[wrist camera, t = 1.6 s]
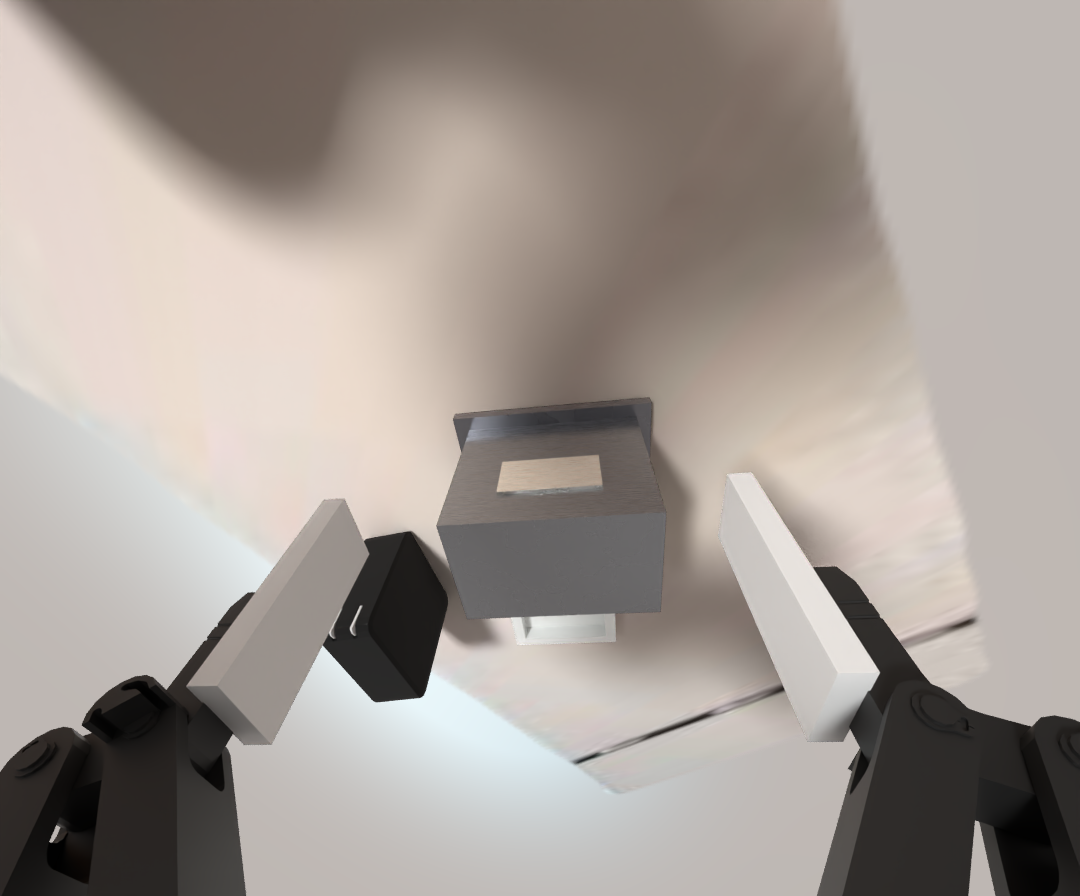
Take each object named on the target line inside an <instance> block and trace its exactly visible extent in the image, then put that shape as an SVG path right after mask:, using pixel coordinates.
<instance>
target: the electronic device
mask: <svg viewBox="0 0 1080 896" xmlns="http://www.w3.org/2000/svg"><path fill="white" fill-rule="evenodd" d="M364 543H365V545H366V547H367V550H368V552H369V556H368V558H367V559H366V561H365V563H364V565H363V567H362V569H361V571H360V573H359V575H358V577H357V579H356V581H355V583H354V585H353V587H352V589H351V591H350V593H349V595H348V597H347V599H346V600H345V602H344V604H343V606H342V608H341V610H340V612H339V614H338V616H337V618H336V620H335V622H334V624H333V626H332V628H331V630H330V632H329V634H328V636H327V638H326V639H325V641H324V643H323V646H324V647H325V648H326V649H327V650H328V652H329V653H330V654H331V655H332V656H333V657H334V658H335V659H336V661H337V662H338V663H339V664H340V665H341V666H342V667H343V668H344V669H345V670H346V672H347V673H348V674H349V675H350V676H351V677H352V678H353V679H354V680H355V681H356V683H357V684H358V685H359V686H360V687H361V688H362V689H363V690H364V691H365V693H366V694H367V695H368V696H369V697H370V698H371V699H372V700H373V701H374V702H385V701H394V700H404V699H414V698H421V697H422V696H424V693H425V691H426V688H427V684H428V680H429V676H430V672H431V668H432V664H433V661H434V657H435V653H436V649H437V645H438V641H439V637H440V633H441V629H442V626H443V622H444V618H445V614H446V610H447V605H448V598H447V594H446V592H445V590H444V589H443V587H442V585H441V583H440V582H439V580H438V578H437V577H436V575H435V573H434V571H433V570H432V568H431V566H430V564H429V563H428V561H427V559H426V558H425V556H424V554H423V552H422V551H421V549H420V547H419V546H418V544H417V542H416V540H415V539H414V537H413V535H412V534H411V533H410V532H403V533H397V534H392V535H386V536H381V537H375V538H369V539H366V540H365V541H364Z"/></svg>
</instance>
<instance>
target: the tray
mask: <svg viewBox="0 0 1080 896" xmlns="http://www.w3.org/2000/svg"><path fill="white" fill-rule="evenodd" d="M511 621H512V625H513V629H514V633H515V637H516V642H517V645H536V644H567V643H598V642H616V622H615V614H590V615H564V616H538V617H511Z"/></svg>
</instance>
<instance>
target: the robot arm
mask: <svg viewBox="0 0 1080 896" xmlns="http://www.w3.org/2000/svg"><path fill="white" fill-rule="evenodd" d="M718 537H719V539H720V542H721V544H722V546H723V549H724V551H725V553H726V555H727V558H728V560H729V562H730V565H731V567H732V569H733V572H734V574H735V576H736V579H737V581H738V583H739V585H740V588H741V590H742V592H743V595H744V597H745V599H746V602H747V604H748V606H749V608H750V611H751V613H752V615H753V618H754V620H755V622H756V625H757V627H758V629H759V631H760V634H761V636H762V638H763V641H764V643H765V645H766V648H767V650H768V652H769V654H770V657H771V659H772V661H773V664H774V666H775V668H776V671H777V673H778V675H779V677H780V680H781V682H782V684H783V687H784V689H785V691H786V694H787V696H788V698H789V701H790V703H791V705H792V707H793V710H794V712H795V714H796V717H797V719H798V721H799V724H800V726H801V728H802V730H803V733H804V735H805V737H806V740H807V742H843V741H844V739H845V737H846V735H847V733H848V731H849V730H850V729H851V731H852V733H853V735H854V737H855V739H856V741H857V743H858V744H859V746H860V749H859V751H858V753H857V754H856V756H855V758H854V759H853V761H852V763H851V765H850V766H849V768H848V769H849V770H851V771H852V773H851V777H850V780H849V784H848V788H847V791H846V795H845V798H844V802H843V805H842V809H841V812H840V816H839V820H838V823H837V827H836V830H835V834H834V837H833V841H832V844H831V848H830V852H829V855H828V858H827V862H826V866H825V869H824V873H823V876H822V880H821V883H820V887H819V890H818V894H817V896H968V893H969V881H970V870H971V858H972V847H973V836H974V825H975V824H974V823H975V820H976V821H979V822H980V826H981V831H982V836H983V840H984V845H985V850H986V854H987V859H988V863H989V868H990V872H991V877H992V882H993V886H994V891H995V895H996V896H1080V722H1078V721H1076V720H1073V719H1069V718H1064V717H1059V716H1048V717H1041V718H1040V719H1039V720H1038V721H1037V722H1036V723H1035V724H1034V725H1033V726H1032V727H1031V726H1027V725H1023V724H1019V723H1016V722H1012V721H1008V720H1004V719H1001V718H997V717H993V716H989V715H986V714H982V713H979V712H977V711H974V710H971V709H968V708H967V707H966V706H965V705H964V704H963V703H962V702H961V701H960V700H958V699H957V698H956V697H955V696H953V695H952V694H950V693H948V692H947V691H945V690H943V689H942V688H940V687H938V686H935V685H932V684H931V683H930V682H929V681H928V680H927V678H926V677H925V676H924V675H923V674H922V672H921V671H920V670H919V668H918V667H917V665H916V664H915V663H914V661H913V660H912V659H911V657H910V656H909V654H908V653H907V652H906V650H905V649H904V648H903V646H902V645H901V643H900V642H899V641H898V639H897V638H896V637H895V635H894V634H893V632H892V631H891V630H890V628H889V627H888V626H887V624H886V623H885V621H884V620H883V619H881V618H880V615H879V613H878V612H877V610H876V609H875V608H874V606H873V605H872V603H869V599H868V598H867V597H866V595H865V594H864V592H863V591H862V590H861V588H860V587H859V586H858V584H857V583H856V582H855V581H854V580H853V579H852V578H850V577H849V576H848V575H846V574H845V573H844V572H843V571H841V570H840V569H839V568H837V567H812V566H811V564H810V563H809V561H808V559H807V558H806V556H805V555H804V553H803V552H802V550H801V549H800V547H799V545H798V544H797V542H796V541H795V539H794V538H793V536H792V535H791V533H790V531H789V530H788V528H787V527H786V525H785V524H784V522H783V520H782V519H781V517H780V516H779V514H778V513H777V511H776V510H775V508H774V506H773V505H772V503H771V502H770V500H769V499H768V497H767V496H766V494H765V492H764V491H763V489H762V488H761V486H760V485H759V483H758V482H757V480H756V478H755V477H754V475H753V474H752V472H749V473H733V474H727V478H726V485H725V492H724V499H723V506H722V513H721V520H720V527H719V534H718ZM368 556H369V552H368V550H367V547H366V545H365V543H364V541H363V539H362V536H361V534H360V532H359V530H358V528H357V525H356V523H355V521H354V519H353V516H352V514H351V512H350V510H349V508H348V505H347V503H346V501H345V499H328V500H323V502H322V503H321V505H320V506H319V507H318V509H317V510H316V511H315V513H314V514H313V515H312V517H311V518H310V519H309V521H308V522H307V523H306V525H305V526H304V527H303V529H302V530H301V532H300V533H299V534H298V536H297V537H296V538H295V540H294V541H293V542H292V544H291V545H290V546H289V548H288V549H287V550H286V552H285V553H284V555H283V556H282V557H281V559H280V560H279V561H278V563H277V564H276V565H275V567H274V568H273V569H272V571H271V572H270V574H269V575H268V576H267V578H266V579H265V580H264V582H263V583H262V584H261V586H260V587H259V588H258V590H257V591H256V592H254V593H253V592H251V593H247V594H246V595H245V596H243V597H242V598H241V599H240V600H239V601H237V602H236V603H235V604H234V605H233V606H231V607H230V608H229V610H228V611H227V612H226V614H225V615H224V616H223V618H222V619H221V620H220V621H219V623H218V626H217V627H215V628H214V629H213V630H212V632H211V633H210V634H209V636H208V637H207V638H208V639H207V641H204V642H203V644H202V645H201V646H200V647H199V649H198V650H197V651H196V653H195V654H194V655H193V656H192V658H191V659H190V660H189V662H188V663H187V664H186V665H185V667H184V668H183V669H182V671H181V672H180V673H179V675H178V676H177V677H176V678H175V680H174V681H173V682H172V684H171V685H170V686H169V687H168V689H167V690H166V689H164V687H162V686H161V684H159V683H158V682H157V681H156V680H155V679H154V678H153V677H150V676H148V675H143V676H136V677H133V678H131V679H128V680H126V681H124V682H122V683H120V684H119V685H117V686H115V687H114V688H112V689H111V690H109V691H108V692H107V693H105V694H104V695H103V696H102V697H101V698H100V699H99V700H98V701H97V702H96V703H95V704H94V705H93V706H92V708H91V709H90V710H89V711H88V713H87V714H86V716H85V718H84V721H83V723H82V726H83V727H85V728H86V729H87V730H89V731H90V732H92V733H91V734H88V735H85V736H82V735H80V734H79V733H78V732H76V731H75V730H74V729H72V728H68V727H61V728H57V729H53V730H50V731H49V732H47V733H45V734H43V735H41V736H39V737H37V738H35V739H34V740H33V741H31V742H30V743H28V744H27V745H26V746H25V747H23V748H22V749H21V750H20V751H19V752H17V754H15V756H13V757H12V758H11V759H10V760H9V761H8V762H7V764H6V765H5V766H4V768H3V769H2V770H1V772H0V896H246V890H245V882H244V873H243V864H242V855H241V847H240V837H239V828H238V819H237V810H236V802H235V793H234V783H233V775H232V765H231V757H230V753H229V751H228V749H227V748H226V747H225V746H226V744H227V743H228V741H229V739H230V738H231V736H232V734H234V735H235V736H236V737H237V738H238V739H239V740H240V741H241V742H242V743H243V744H244V745H271V744H272V743H273V741H274V739H275V737H276V735H277V733H278V731H279V729H280V727H281V725H282V723H283V721H284V719H285V718H286V716H287V714H288V712H289V710H290V708H291V706H292V704H293V702H294V700H295V698H296V696H297V694H298V692H299V690H300V688H301V686H302V684H303V682H304V680H305V678H306V677H307V675H308V673H309V671H310V669H311V667H312V665H313V663H314V661H315V659H316V657H317V655H318V653H319V651H320V649H321V647H322V645H323V643H324V641H325V639H326V638H327V636H328V634H329V632H330V630H331V628H332V626H333V624H334V622H335V620H336V618H337V616H338V614H339V612H340V610H341V608H342V606H343V604H344V602H345V600H346V599H347V597H348V595H349V593H350V591H351V589H352V587H353V585H354V583H355V581H356V579H357V577H358V575H359V573H360V571H361V569H362V567H363V565H364V563H365V561H366V559H367V558H368ZM56 825H57V826H59V827H61V828H60V830H59V832H58V835H57V837H56V838H55V840H54V841H53V843H50V842H49V841H50V839H51V836H52V834H53V832H54V829H55V827H56Z"/></svg>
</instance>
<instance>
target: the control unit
mask: <svg viewBox="0 0 1080 896" xmlns="http://www.w3.org/2000/svg"><path fill="white" fill-rule="evenodd" d="M453 421H454V425H455V429H456V433H457V437H458V441H459V445H460V449H461V452H462V453H461V456H460V459H459V462H458V465H457V468H456V471H455V473H454V476H453V479H452V482H451V485H450V488H449V491H448V494H447V496H446V499H445V502H444V505H443V508H442V511H441V514H440V517H439V520H438V522H437V525H436V526H437V530H438V533H439V536H440V539H441V542H442V545H443V548H444V551H445V554H446V557H447V560H448V563H449V566H450V569H451V572H452V575H453V578H454V581H455V584H456V587H457V590H458V593H459V596H460V599H461V602H462V605H463V608H464V611H465V614H466V617H467V619H485V618H511V617H538V616H564V615H590V614H616V613H642V612H661V594H662V577H663V560H664V543H665V526H666V510H665V506H664V503H663V500H662V497H661V494H660V490H659V487H658V484H657V481H656V477H655V474H654V471H653V468H652V465H651V461H650V437H651V400H650V398H639V399H627V400H615V401H603V402H591V403H580V404H568V405H556V406H544V407H532V408H521V409H509V410H497V411H485V412H473V413H462V414H455V416H454V418H453Z"/></svg>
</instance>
